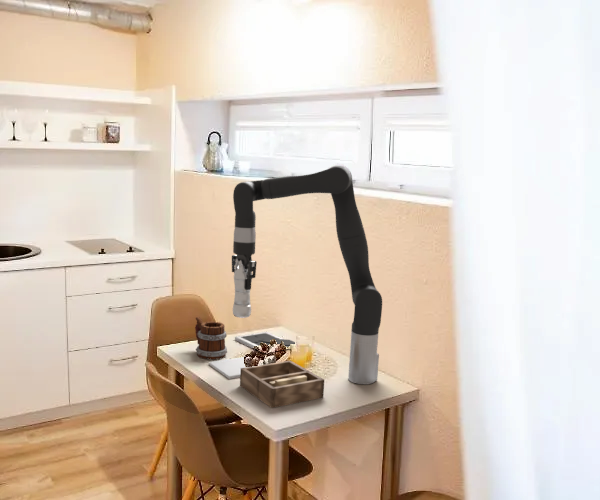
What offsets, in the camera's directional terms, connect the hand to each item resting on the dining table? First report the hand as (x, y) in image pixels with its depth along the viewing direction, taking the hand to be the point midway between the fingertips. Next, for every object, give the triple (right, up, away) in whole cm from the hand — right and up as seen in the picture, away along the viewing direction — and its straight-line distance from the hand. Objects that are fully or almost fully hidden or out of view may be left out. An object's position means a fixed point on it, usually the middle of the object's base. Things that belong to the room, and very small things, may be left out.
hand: (242, 287), depth 225 cm
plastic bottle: (-1, -11, +2) cm, 11 cm away
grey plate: (-2, -29, +5) cm, 29 cm away
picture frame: (+6, -26, +35) cm, 44 cm away
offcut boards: (+17, -34, -20) cm, 43 cm away
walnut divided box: (+14, -33, -15) cm, 39 cm away
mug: (-15, -26, +19) cm, 35 cm away
